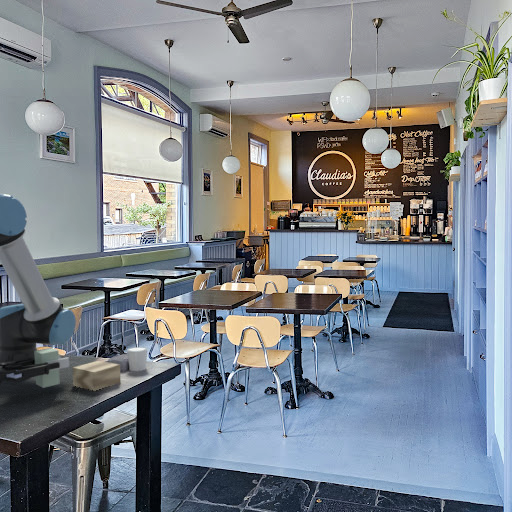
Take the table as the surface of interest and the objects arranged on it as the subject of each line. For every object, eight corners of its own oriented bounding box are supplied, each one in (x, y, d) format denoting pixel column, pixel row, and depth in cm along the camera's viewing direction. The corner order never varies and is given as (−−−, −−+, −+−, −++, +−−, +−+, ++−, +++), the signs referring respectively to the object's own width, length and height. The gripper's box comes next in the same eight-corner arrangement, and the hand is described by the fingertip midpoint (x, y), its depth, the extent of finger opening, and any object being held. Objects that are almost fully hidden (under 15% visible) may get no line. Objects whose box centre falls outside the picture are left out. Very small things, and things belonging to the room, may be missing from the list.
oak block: (73, 386, 167) (72, 367, 167) (99, 378, 176) (98, 360, 175) (95, 392, 162) (94, 372, 162) (120, 383, 170) (120, 364, 170)
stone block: (100, 376, 185) (127, 371, 183) (98, 362, 185) (124, 357, 183) (116, 368, 197) (141, 363, 195) (113, 355, 197) (139, 350, 195)
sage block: (35, 384, 160) (34, 350, 159) (52, 380, 164) (50, 347, 163) (43, 387, 157) (41, 353, 156) (59, 383, 160) (58, 350, 159)
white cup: (151, 367, 188) (151, 347, 188) (140, 372, 182) (139, 351, 181) (135, 365, 191) (135, 346, 191) (123, 370, 185) (122, 350, 184)
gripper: (-29, 383, 154) (51, 366, 170) (-6, 398, 141) (78, 378, 157) (-30, 357, 153) (50, 343, 170) (-7, 369, 140) (77, 353, 157)
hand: (64, 360), depth 163 cm, fingers closed on sage block, 5 cm apart
